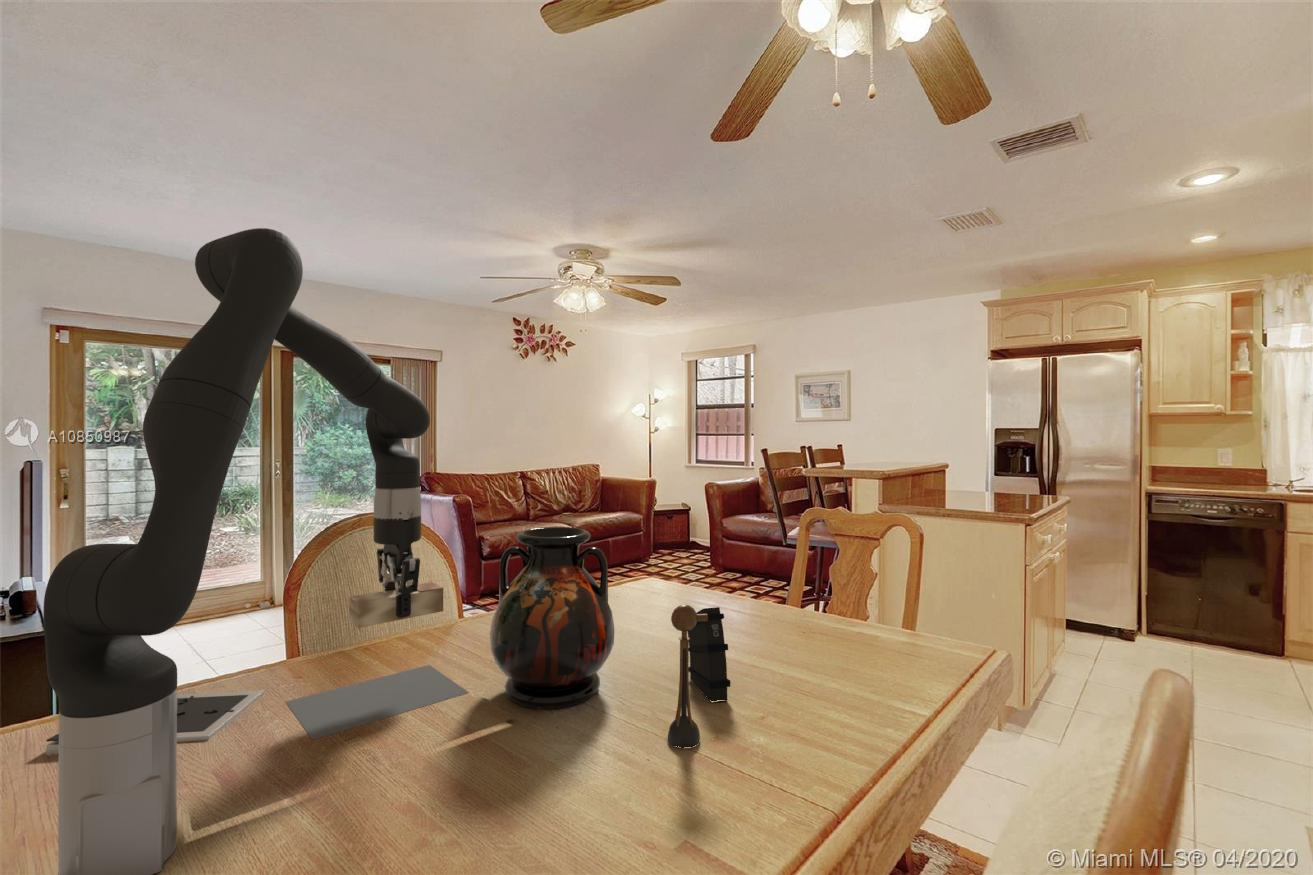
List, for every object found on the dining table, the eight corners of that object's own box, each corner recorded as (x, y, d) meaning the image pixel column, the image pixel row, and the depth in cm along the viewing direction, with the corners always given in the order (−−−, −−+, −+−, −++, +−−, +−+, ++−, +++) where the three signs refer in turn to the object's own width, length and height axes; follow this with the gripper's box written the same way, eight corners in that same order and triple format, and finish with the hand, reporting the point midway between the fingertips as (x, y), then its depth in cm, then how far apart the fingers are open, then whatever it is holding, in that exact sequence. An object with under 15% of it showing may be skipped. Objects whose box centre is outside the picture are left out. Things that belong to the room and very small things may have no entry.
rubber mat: (469, 697, 103) (469, 692, 103) (312, 745, 87) (312, 739, 87) (429, 669, 116) (429, 664, 116) (285, 706, 100) (285, 701, 100)
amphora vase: (471, 718, 96) (472, 541, 96) (509, 666, 117) (509, 522, 117) (607, 721, 95) (608, 543, 95) (619, 668, 116) (620, 523, 116)
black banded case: (716, 702, 98) (702, 608, 104) (691, 706, 109) (680, 621, 116) (737, 699, 99) (722, 606, 105) (710, 703, 110) (698, 619, 117)
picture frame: (46, 760, 84) (208, 750, 87) (46, 739, 84) (208, 730, 87) (128, 709, 100) (264, 702, 103) (128, 692, 100) (264, 685, 103)
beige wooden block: (358, 628, 97) (358, 601, 97) (348, 621, 101) (349, 595, 101) (443, 611, 106) (443, 587, 106) (431, 605, 110) (431, 582, 110)
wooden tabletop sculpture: (702, 731, 92) (703, 599, 92) (710, 746, 87) (711, 608, 87) (664, 734, 91) (665, 601, 91) (670, 750, 86) (671, 610, 86)
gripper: (361, 511, 106) (360, 608, 106) (390, 520, 96) (389, 627, 96) (404, 508, 111) (404, 600, 111) (436, 516, 101) (436, 618, 101)
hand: (397, 612), depth 104 cm, fingers closed on beige wooden block, 5 cm apart
